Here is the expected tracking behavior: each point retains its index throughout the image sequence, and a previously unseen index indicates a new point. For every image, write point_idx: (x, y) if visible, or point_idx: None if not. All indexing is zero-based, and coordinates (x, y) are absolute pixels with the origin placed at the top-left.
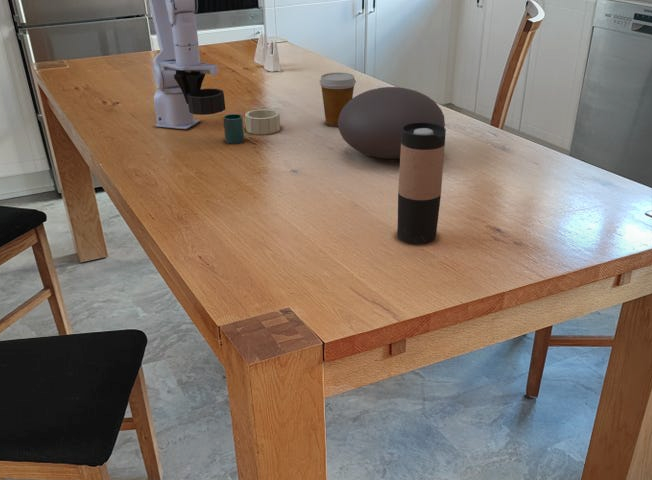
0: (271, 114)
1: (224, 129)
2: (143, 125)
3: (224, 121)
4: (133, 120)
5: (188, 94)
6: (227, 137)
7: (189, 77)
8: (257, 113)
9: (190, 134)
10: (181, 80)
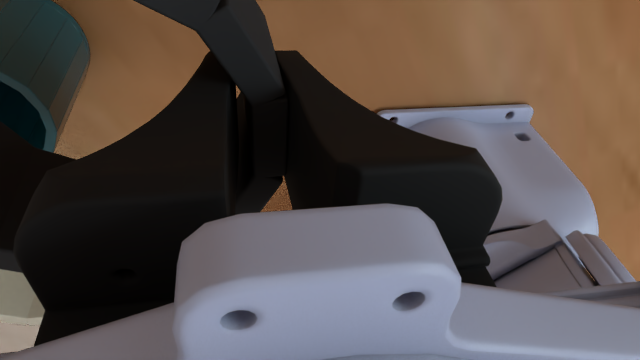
0: (30, 302)
1: (47, 43)
2: (585, 105)
3: (12, 62)
4: (631, 143)
5: (241, 57)
6: (23, 6)
7: (149, 178)
8: None
9: (331, 63)
10: (343, 145)
